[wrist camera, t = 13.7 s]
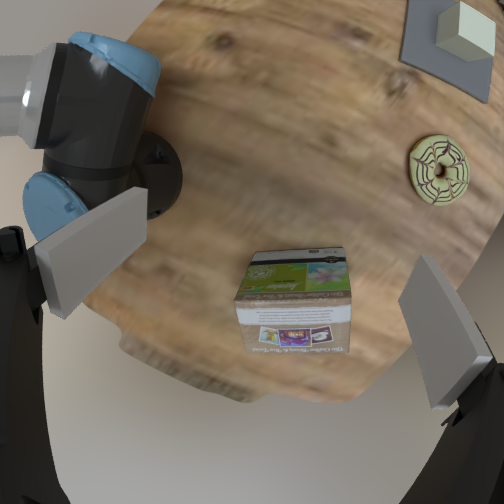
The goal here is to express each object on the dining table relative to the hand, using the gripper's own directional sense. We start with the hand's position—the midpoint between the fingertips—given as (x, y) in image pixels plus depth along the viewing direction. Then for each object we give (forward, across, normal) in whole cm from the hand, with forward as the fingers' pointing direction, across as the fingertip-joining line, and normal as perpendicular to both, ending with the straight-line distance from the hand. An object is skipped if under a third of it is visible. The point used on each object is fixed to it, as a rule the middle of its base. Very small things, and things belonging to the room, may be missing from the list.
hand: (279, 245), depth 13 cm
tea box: (+32, +5, -20) cm, 38 cm away
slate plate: (+31, +20, +26) cm, 45 cm away
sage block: (+30, +20, +26) cm, 45 cm away
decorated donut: (+32, +21, +4) cm, 38 cm away
